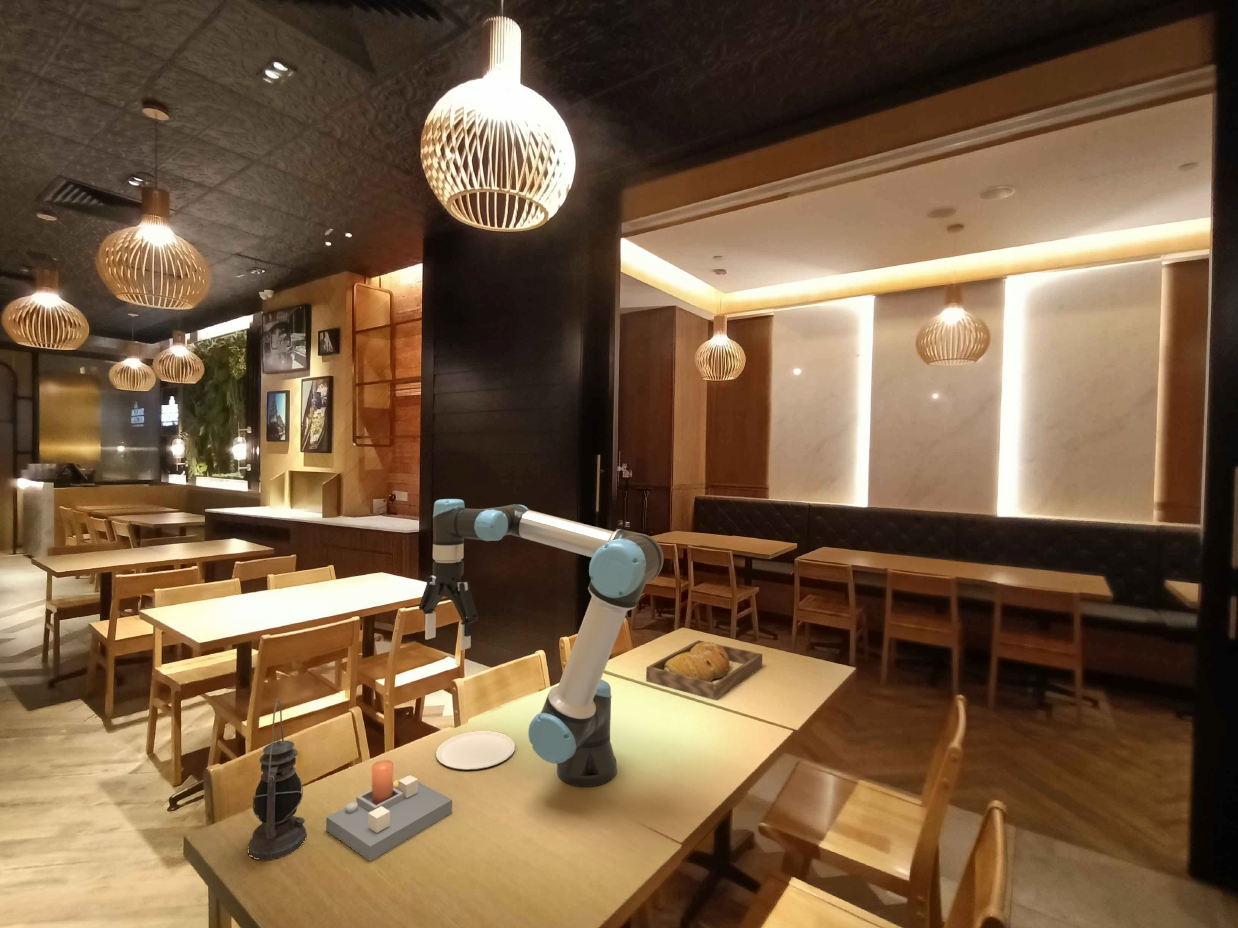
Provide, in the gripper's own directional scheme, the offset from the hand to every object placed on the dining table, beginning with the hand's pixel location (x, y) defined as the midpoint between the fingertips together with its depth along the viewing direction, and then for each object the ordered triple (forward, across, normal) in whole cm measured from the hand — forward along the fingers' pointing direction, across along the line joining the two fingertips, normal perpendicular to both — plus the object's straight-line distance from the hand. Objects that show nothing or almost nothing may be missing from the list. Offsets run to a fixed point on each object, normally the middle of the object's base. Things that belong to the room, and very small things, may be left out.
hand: (447, 643), depth 154 cm
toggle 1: (+29, -13, +28) cm, 42 cm away
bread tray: (+32, -23, -100) cm, 107 cm away
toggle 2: (+29, -7, +16) cm, 34 cm away
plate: (+32, 0, -10) cm, 34 cm away
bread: (+32, -20, -101) cm, 108 cm away
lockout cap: (+29, -5, +22) cm, 36 cm away
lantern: (+32, +3, +40) cm, 51 cm away
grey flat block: (+32, -9, +22) cm, 40 cm away
